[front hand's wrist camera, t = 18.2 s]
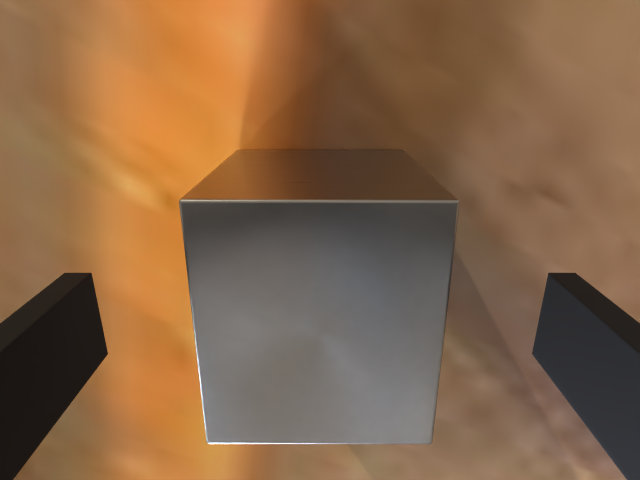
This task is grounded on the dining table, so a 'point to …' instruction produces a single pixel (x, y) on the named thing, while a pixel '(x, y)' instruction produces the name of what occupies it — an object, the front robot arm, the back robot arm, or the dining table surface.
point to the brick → (319, 296)
